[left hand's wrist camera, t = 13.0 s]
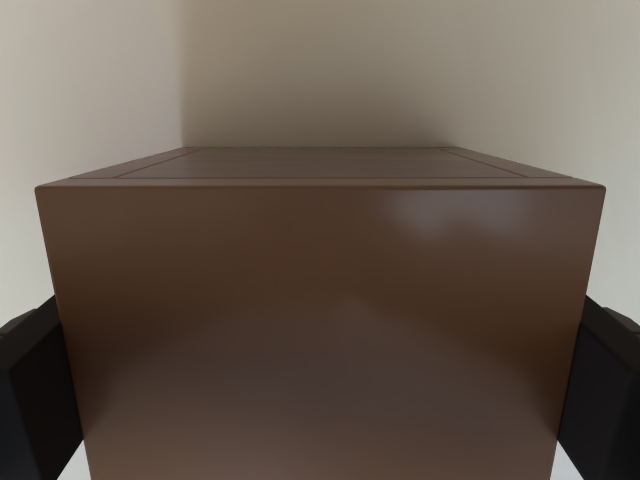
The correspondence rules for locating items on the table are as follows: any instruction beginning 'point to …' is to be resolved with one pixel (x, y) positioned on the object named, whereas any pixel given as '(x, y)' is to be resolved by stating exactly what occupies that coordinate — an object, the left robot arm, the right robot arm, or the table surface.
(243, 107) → the table surface
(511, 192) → the cabinet
